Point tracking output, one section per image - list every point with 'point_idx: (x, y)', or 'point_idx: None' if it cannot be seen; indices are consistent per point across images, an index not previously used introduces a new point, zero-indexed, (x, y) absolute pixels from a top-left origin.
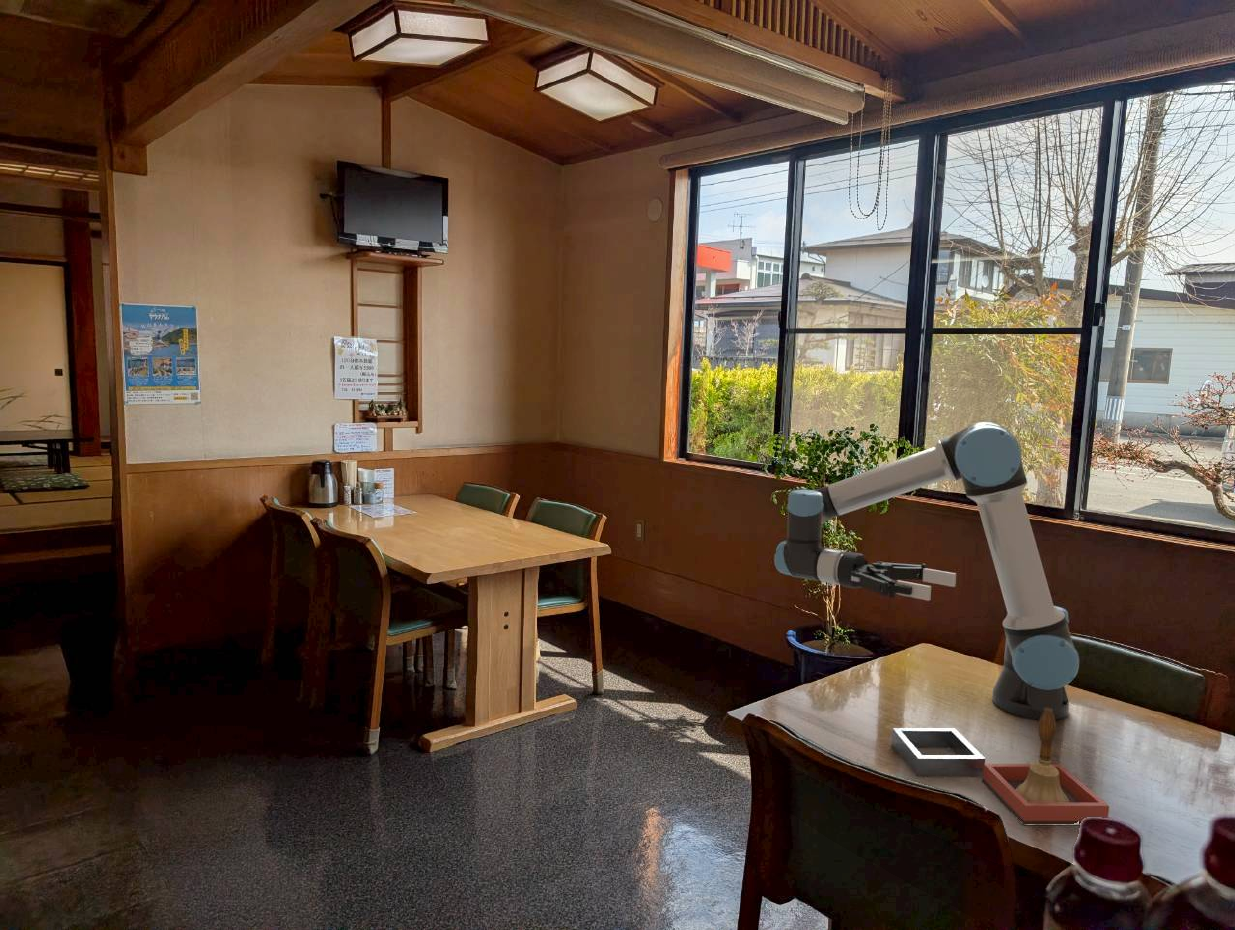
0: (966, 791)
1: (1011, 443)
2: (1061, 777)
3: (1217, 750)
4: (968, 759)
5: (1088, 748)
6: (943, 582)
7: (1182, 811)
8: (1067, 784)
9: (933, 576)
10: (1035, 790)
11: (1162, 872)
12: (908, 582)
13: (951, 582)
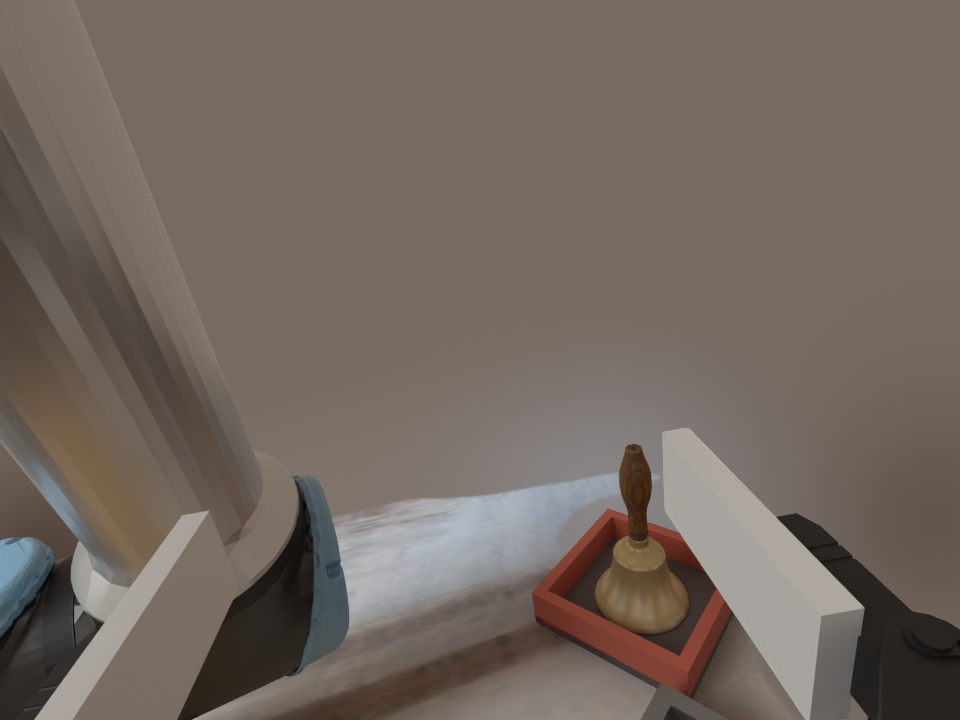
0: (766, 704)
1: None
2: (557, 591)
3: None
4: (706, 708)
5: (333, 651)
6: (202, 634)
7: (478, 510)
8: (568, 580)
9: (145, 688)
10: (671, 576)
11: (655, 476)
12: (763, 528)
13: (223, 578)
